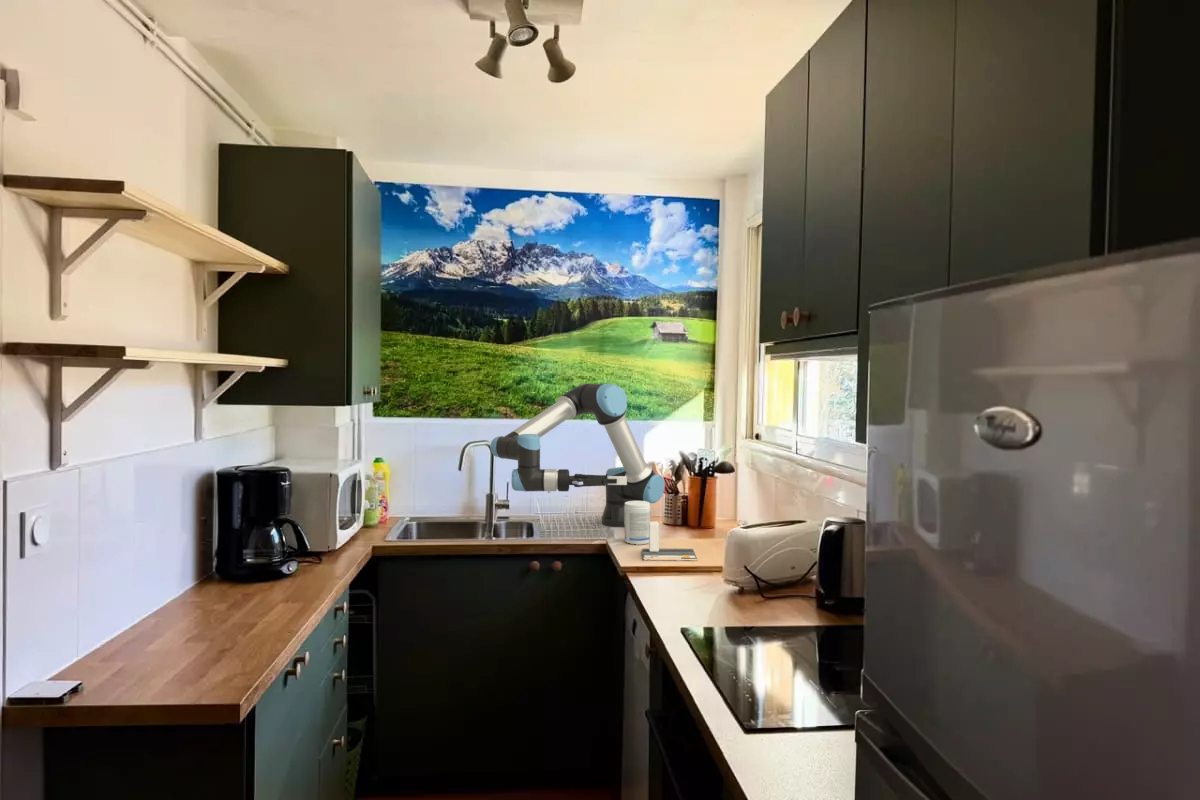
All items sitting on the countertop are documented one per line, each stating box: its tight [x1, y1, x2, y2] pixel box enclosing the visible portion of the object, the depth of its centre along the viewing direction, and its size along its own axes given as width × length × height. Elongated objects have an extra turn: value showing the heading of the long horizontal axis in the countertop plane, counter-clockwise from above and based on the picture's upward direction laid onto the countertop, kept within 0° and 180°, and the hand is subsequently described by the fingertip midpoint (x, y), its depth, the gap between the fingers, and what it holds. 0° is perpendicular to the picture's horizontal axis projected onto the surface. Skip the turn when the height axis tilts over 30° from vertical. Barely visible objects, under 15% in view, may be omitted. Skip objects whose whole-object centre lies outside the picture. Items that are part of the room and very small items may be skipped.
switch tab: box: [648, 521, 660, 552], centre depth 249 cm, size 5×3×10 cm, turn 179°
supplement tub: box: [624, 501, 651, 546], centre depth 268 cm, size 10×10×15 cm
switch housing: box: [641, 547, 698, 560], centre depth 249 cm, size 12×18×2 cm, turn 89°
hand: (626, 480), depth 248 cm, fingers closed
